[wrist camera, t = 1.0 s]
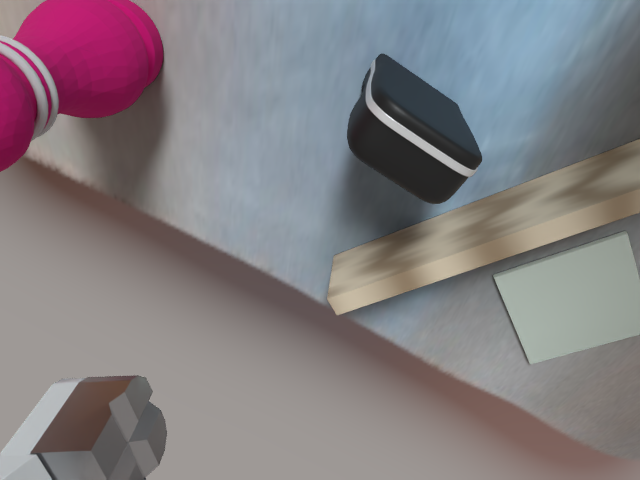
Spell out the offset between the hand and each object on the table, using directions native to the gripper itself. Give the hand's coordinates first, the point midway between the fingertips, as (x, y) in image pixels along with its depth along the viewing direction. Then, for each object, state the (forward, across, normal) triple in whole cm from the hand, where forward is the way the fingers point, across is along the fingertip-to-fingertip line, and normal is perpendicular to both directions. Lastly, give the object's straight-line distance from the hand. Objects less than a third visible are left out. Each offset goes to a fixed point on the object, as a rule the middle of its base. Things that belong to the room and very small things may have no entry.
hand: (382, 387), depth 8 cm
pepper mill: (+30, +17, -4) cm, 35 cm away
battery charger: (+30, -2, +3) cm, 30 cm away
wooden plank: (+30, -6, +12) cm, 33 cm away
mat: (+30, -14, +21) cm, 39 cm away
